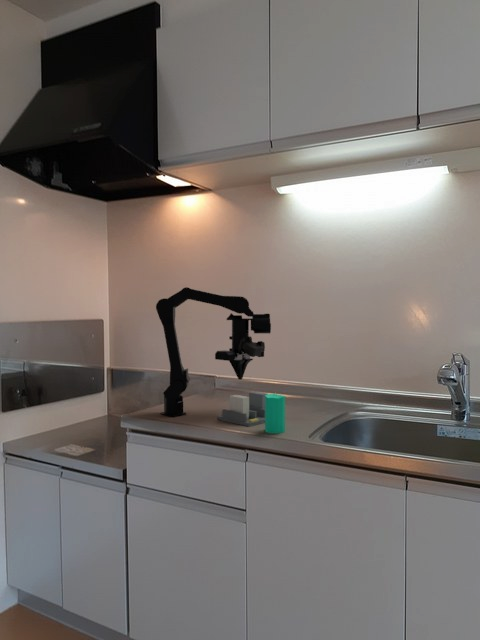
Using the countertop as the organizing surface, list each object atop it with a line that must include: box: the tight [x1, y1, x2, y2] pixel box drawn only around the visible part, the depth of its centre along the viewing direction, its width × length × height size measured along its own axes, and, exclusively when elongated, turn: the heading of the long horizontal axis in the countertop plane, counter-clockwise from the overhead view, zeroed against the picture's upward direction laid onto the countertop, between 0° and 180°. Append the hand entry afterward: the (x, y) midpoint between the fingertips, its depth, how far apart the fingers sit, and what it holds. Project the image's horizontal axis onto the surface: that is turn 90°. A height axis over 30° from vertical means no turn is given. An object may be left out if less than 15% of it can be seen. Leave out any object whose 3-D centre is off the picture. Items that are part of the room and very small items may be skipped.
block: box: [229, 394, 249, 419], centre depth 159 cm, size 6×3×7 cm, turn 46°
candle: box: [264, 393, 286, 434], centre depth 147 cm, size 6×6×12 cm
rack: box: [217, 391, 269, 427], centre depth 162 cm, size 14×15×8 cm
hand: (240, 379), depth 169 cm, fingers closed
